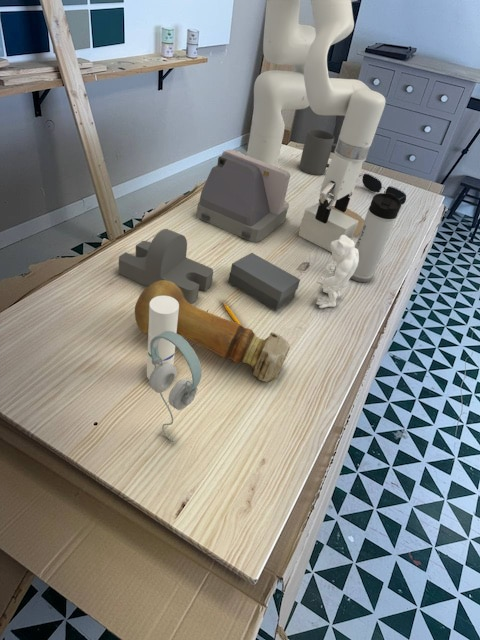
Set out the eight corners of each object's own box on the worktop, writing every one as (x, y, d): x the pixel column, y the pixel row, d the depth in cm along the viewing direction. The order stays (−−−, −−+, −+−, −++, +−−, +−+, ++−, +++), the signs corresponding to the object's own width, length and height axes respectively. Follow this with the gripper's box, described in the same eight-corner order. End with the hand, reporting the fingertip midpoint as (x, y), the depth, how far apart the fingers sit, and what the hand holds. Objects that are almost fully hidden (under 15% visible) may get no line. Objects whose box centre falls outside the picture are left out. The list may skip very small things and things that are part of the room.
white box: (302, 218, 119) (305, 209, 118) (316, 210, 124) (319, 202, 122) (343, 238, 114) (346, 229, 113) (355, 229, 119) (358, 220, 118)
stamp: (278, 397, 78) (278, 326, 69) (134, 362, 87) (117, 296, 78) (295, 358, 85) (296, 290, 76) (161, 330, 94) (148, 265, 85)
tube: (147, 364, 79) (150, 294, 70) (172, 365, 80) (179, 296, 70) (145, 383, 76) (148, 312, 67) (172, 384, 77) (178, 314, 67)
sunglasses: (403, 208, 147) (408, 193, 143) (374, 223, 140) (379, 208, 136) (361, 185, 156) (365, 171, 152) (331, 198, 149) (335, 184, 145)
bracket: (143, 253, 105) (144, 210, 98) (213, 283, 100) (219, 240, 93) (116, 272, 98) (115, 227, 91) (190, 305, 93) (195, 260, 86)
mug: (295, 169, 157) (303, 133, 150) (303, 161, 164) (312, 127, 157) (333, 182, 154) (343, 146, 147) (340, 173, 161) (350, 138, 153)
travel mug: (374, 273, 114) (405, 197, 101) (368, 286, 109) (400, 208, 96) (349, 264, 115) (377, 188, 103) (343, 276, 110) (371, 198, 98)
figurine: (336, 318, 98) (359, 258, 88) (307, 307, 99) (326, 246, 89) (347, 292, 106) (370, 234, 96) (320, 282, 107) (339, 224, 97)
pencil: (267, 368, 83) (267, 365, 83) (220, 303, 95) (221, 300, 95) (270, 367, 84) (271, 364, 83) (224, 302, 96) (224, 300, 95)
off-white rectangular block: (297, 235, 123) (302, 218, 119) (311, 227, 127) (316, 210, 124) (337, 255, 118) (343, 238, 114) (350, 246, 122) (355, 229, 119)
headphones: (138, 428, 69) (141, 328, 57) (159, 414, 72) (166, 315, 59) (177, 464, 66) (189, 366, 53) (197, 448, 68) (213, 350, 56)
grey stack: (227, 282, 101) (231, 263, 98) (247, 270, 106) (251, 252, 103) (276, 311, 96) (281, 292, 93) (294, 298, 101) (300, 279, 98)
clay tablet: (367, 226, 133) (370, 217, 131) (353, 238, 126) (356, 229, 124) (323, 207, 138) (326, 198, 137) (307, 217, 131) (309, 208, 130)
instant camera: (294, 223, 127) (308, 171, 118) (247, 247, 114) (257, 190, 104) (236, 193, 136) (244, 142, 126) (185, 212, 123) (190, 156, 113)
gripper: (355, 136, 114) (334, 200, 125) (319, 150, 103) (300, 219, 114) (382, 147, 111) (358, 212, 122) (348, 163, 100) (326, 232, 111)
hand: (330, 215), depth 118 cm, fingers open, 9 cm apart
